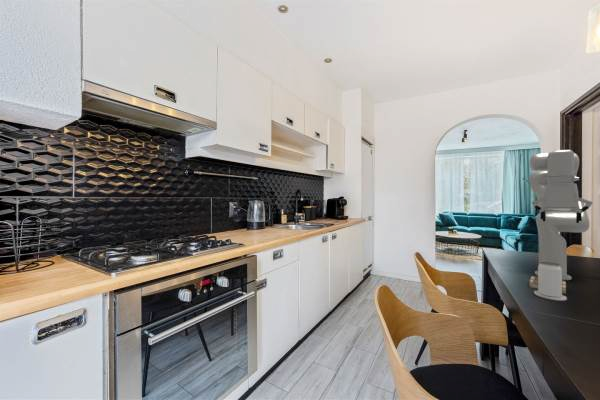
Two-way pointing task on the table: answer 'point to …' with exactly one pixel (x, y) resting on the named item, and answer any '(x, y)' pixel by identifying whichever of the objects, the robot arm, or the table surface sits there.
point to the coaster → (551, 297)
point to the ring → (535, 284)
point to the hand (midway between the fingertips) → (560, 221)
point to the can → (550, 279)
